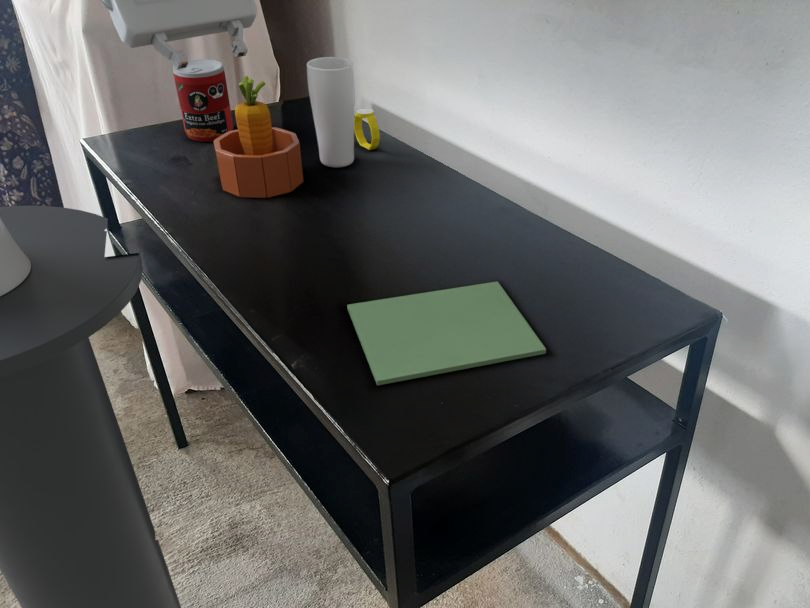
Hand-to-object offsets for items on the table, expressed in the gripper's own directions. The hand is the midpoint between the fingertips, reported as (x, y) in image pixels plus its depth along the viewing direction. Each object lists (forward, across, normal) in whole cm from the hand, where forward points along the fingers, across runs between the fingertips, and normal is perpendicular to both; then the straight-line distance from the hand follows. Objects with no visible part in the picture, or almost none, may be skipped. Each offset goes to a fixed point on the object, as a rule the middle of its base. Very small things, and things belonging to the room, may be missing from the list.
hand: (213, 60), depth 103 cm
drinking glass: (+18, +12, +4) cm, 22 cm away
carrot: (+17, 0, +5) cm, 18 cm away
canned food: (+2, +4, +20) cm, 21 cm away
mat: (+49, -8, -27) cm, 57 cm away
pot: (+17, 0, +5) cm, 17 cm away
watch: (+17, +20, +5) cm, 27 cm away
